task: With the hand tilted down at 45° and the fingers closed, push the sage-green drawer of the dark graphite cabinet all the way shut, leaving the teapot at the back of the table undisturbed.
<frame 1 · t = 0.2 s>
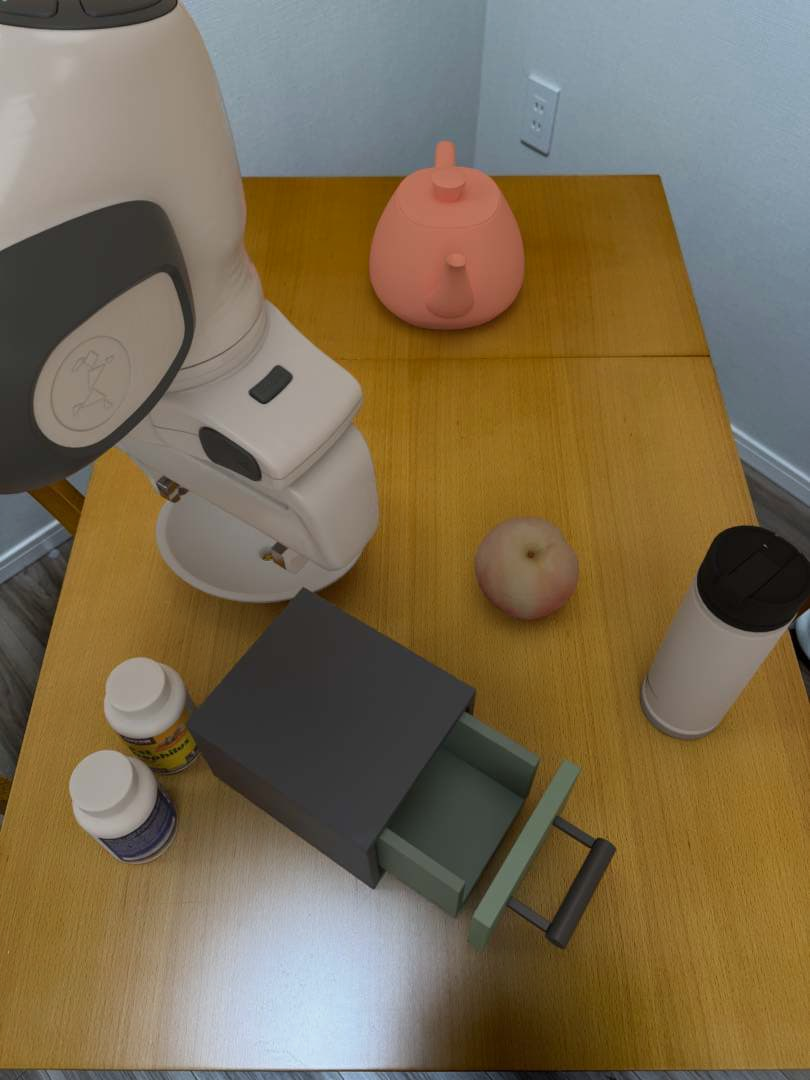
hand: (232, 525, 52), 20 cm above the table, tool pointing down, fingers open, 8 cm apart
travel mug: (678, 704, 66), on the table
supplement bottle: (172, 742, 65), on the table
drawer: (469, 820, 56), point 5 cm above the table, slide at 7.0 cm
teapot: (446, 293, 95), on the table
pill bottle: (143, 827, 62), on the table
dish: (270, 560, 75), on the table
fruit: (521, 595, 72), on the table
cabinet: (342, 759, 64), on the table
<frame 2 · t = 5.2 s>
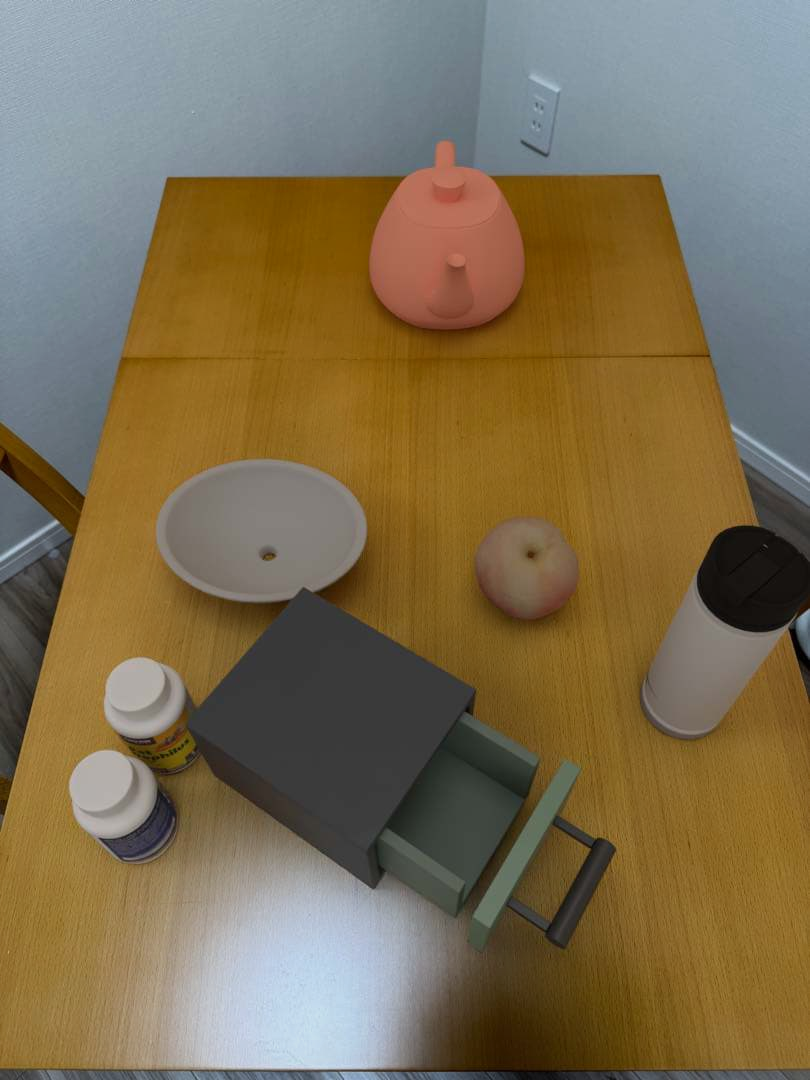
nothing on the table moved.
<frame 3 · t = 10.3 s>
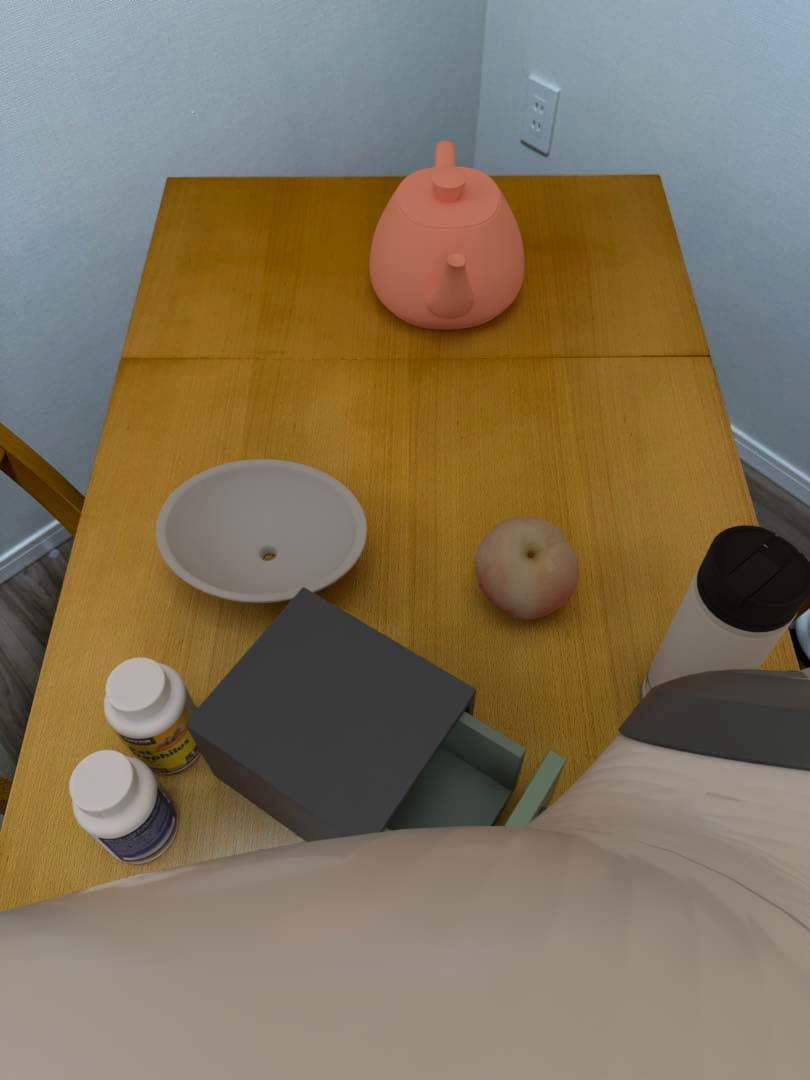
hand: (577, 889, 53), 6 cm above the table, tool tilted 45°, fingers closed, pressing on drawer
drawer: (455, 812, 57), point 5 cm above the table, slide at 5.9 cm, touching gripper
everything else where it was.
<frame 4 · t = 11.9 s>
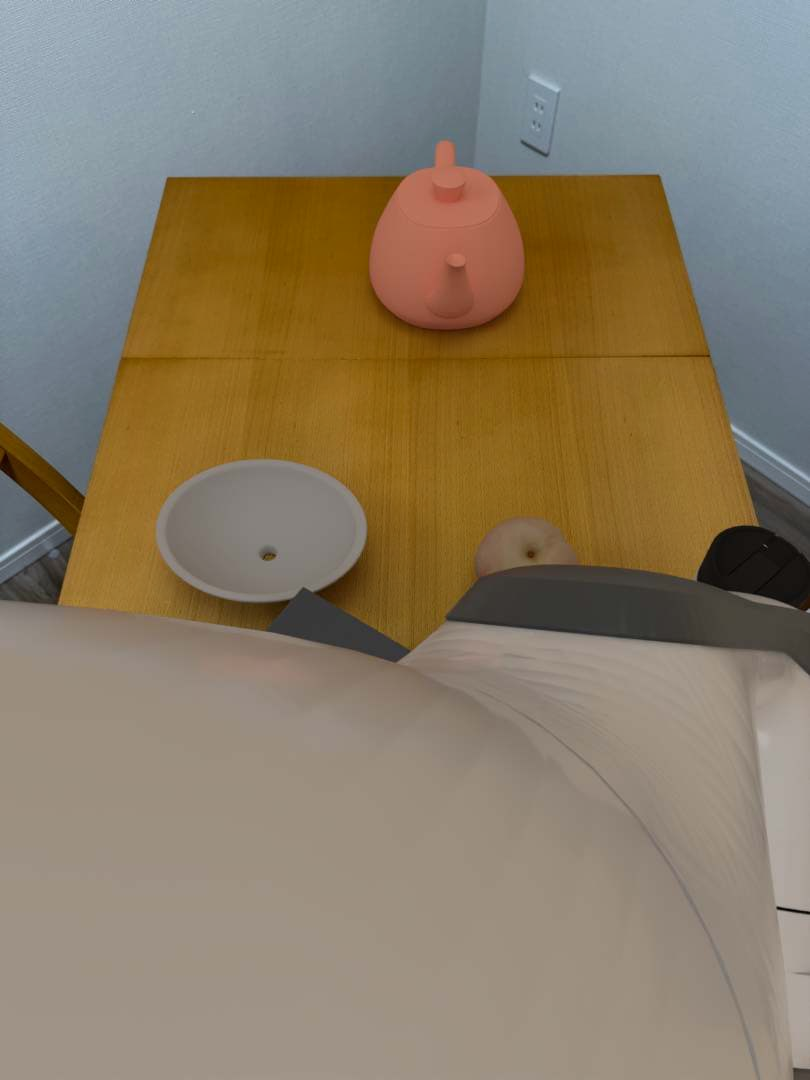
hand: (494, 835, 55), 6 cm above the table, tool tilted 45°, fingers closed, pressing on drawer
drawer: (382, 763, 59), point 5 cm above the table, slide at 0.0 cm, touching cabinet, gripper
everything else where it was.
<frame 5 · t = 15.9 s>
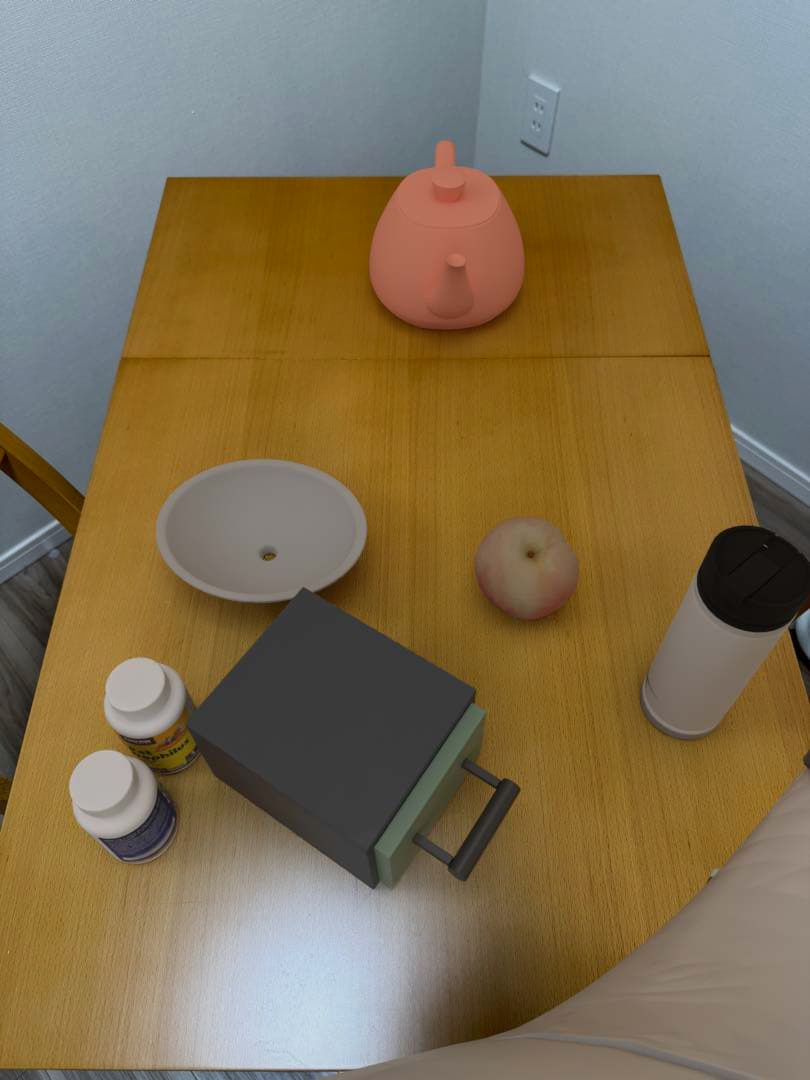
hand: (706, 901, 43), 16 cm above the table, tool tilted 45°, fingers closed
drawer: (382, 763, 59), point 5 cm above the table, slide at 0.0 cm, touching cabinet
everything else where it was.
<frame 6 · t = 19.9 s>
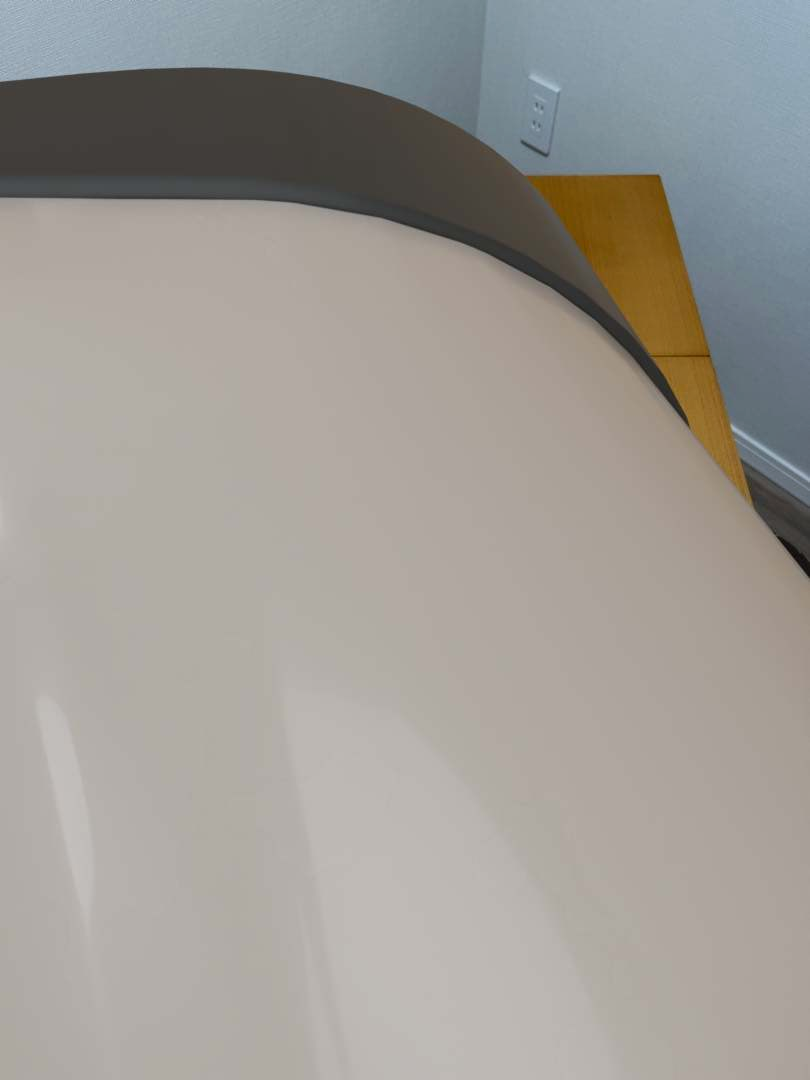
nothing on the table moved.
at the end: drawer slide at 0.0 cm; teapot moved 0.2 cm from its start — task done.
